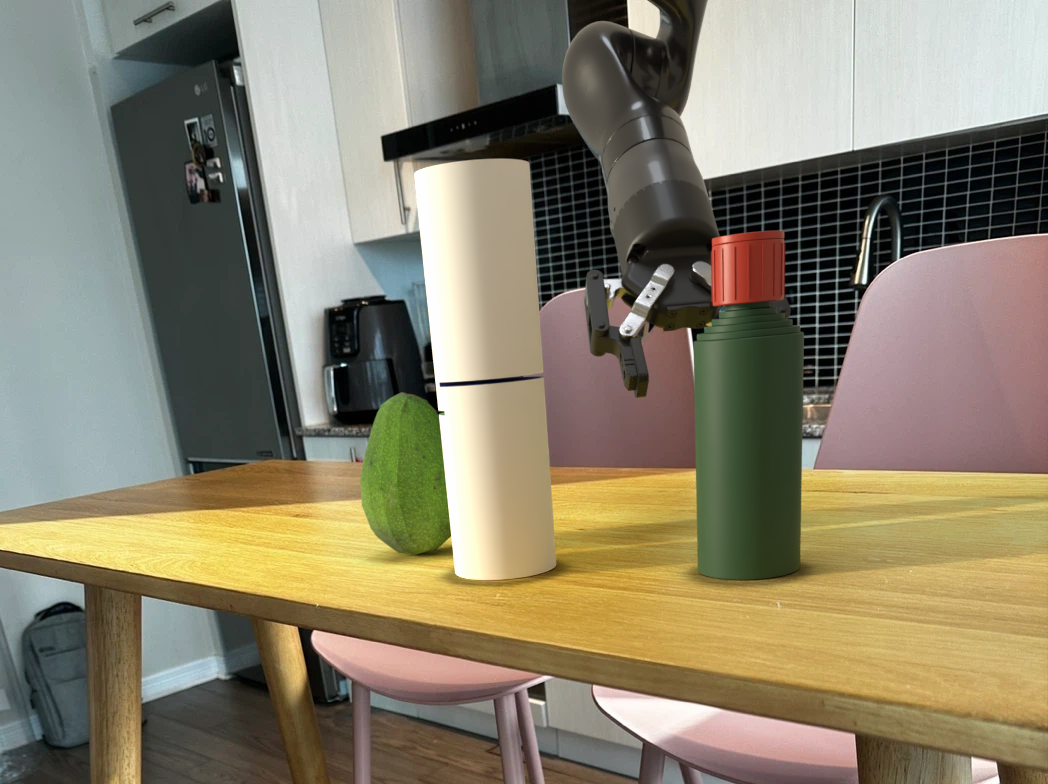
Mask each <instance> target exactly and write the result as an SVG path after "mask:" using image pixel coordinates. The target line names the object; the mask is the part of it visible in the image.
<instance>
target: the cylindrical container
mask: <svg viewBox="0 0 1048 784" xmlns="http://www.w3.org/2000/svg"><path fill="white" fill-rule="evenodd" d="M530 167H531V166H530V162H529V161H527V160H523V159H519V158H518V159H517V158H481V159H468V160H460V161H452V162H445V163H440V164H435V165H429V166H426V167H423V168H421V169H418V170H416V171H415V172H414V173H413V176H414V186H415V193H416V195H415V196H416V205H417V206H416V207H417V214H418V223H419V234H420V245H421V254H422V263H423V273H424V283H425V294H426V303H427V312H428V321H429V322H428V323H429V331H430V342H431V350H432V351H431V352H432V360H433V361H432V362H433V369H434V379H435V381H434V382H435V389H436V399H437V408H438V412H440V413H439V414H438V416H439V420H440V429H441V439H442V449H443V459H444V468H445V478H446V488H447V498H448V507H449V517H450V527H451V537H450V538H451V545H452V555H453V565H454V573H455V575H456V576H458V577H459V578H463V579H468V580H476V581H503V580H513V579H520V578H521V579H522V578H526V577H527V578H528V577H532V576H536V575H541V574H544V573H547V572H549V571H551V570H553V569H554V568H556V566H557V553H556V552H557V551H556V539H555V538H556V537H555V521H554V507H553V495H552V479H551V478H552V477H551V464H550V462H551V461H550V448H549V447H550V446H549V435H548V432H549V431H548V421H547V420H548V419H547V403H546V388H545V377H544V376H541V375H540V376H539V374H543V373H544V359H543V358H544V357H543V345H542V344H543V343H542V331H541V316H540V315H541V314H540V300H539V299H540V297H539V285H538V284H539V283H538V271H537V270H538V269H537V256H536V239H535V225H534V212H533V211H534V209H533V196H532V195H533V194H532V181H531V168H530ZM531 375H532V376H531ZM533 375H537V376H533Z"/></svg>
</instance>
